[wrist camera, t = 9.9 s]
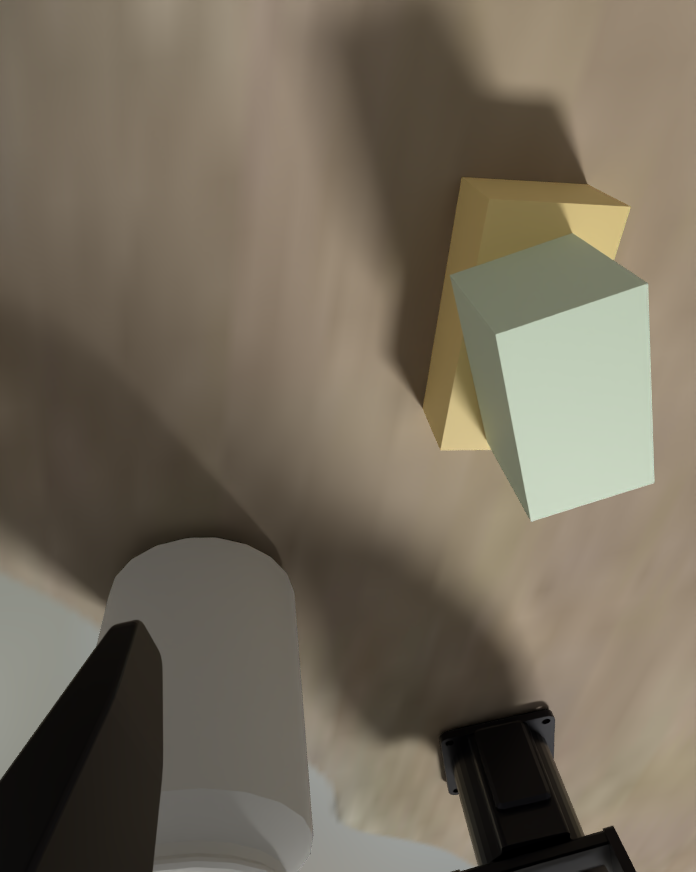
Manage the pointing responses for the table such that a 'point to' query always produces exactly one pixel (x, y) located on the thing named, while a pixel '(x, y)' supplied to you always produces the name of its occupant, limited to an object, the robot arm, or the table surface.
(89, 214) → the table surface
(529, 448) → the sage brick
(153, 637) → the can
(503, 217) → the ochre brick
